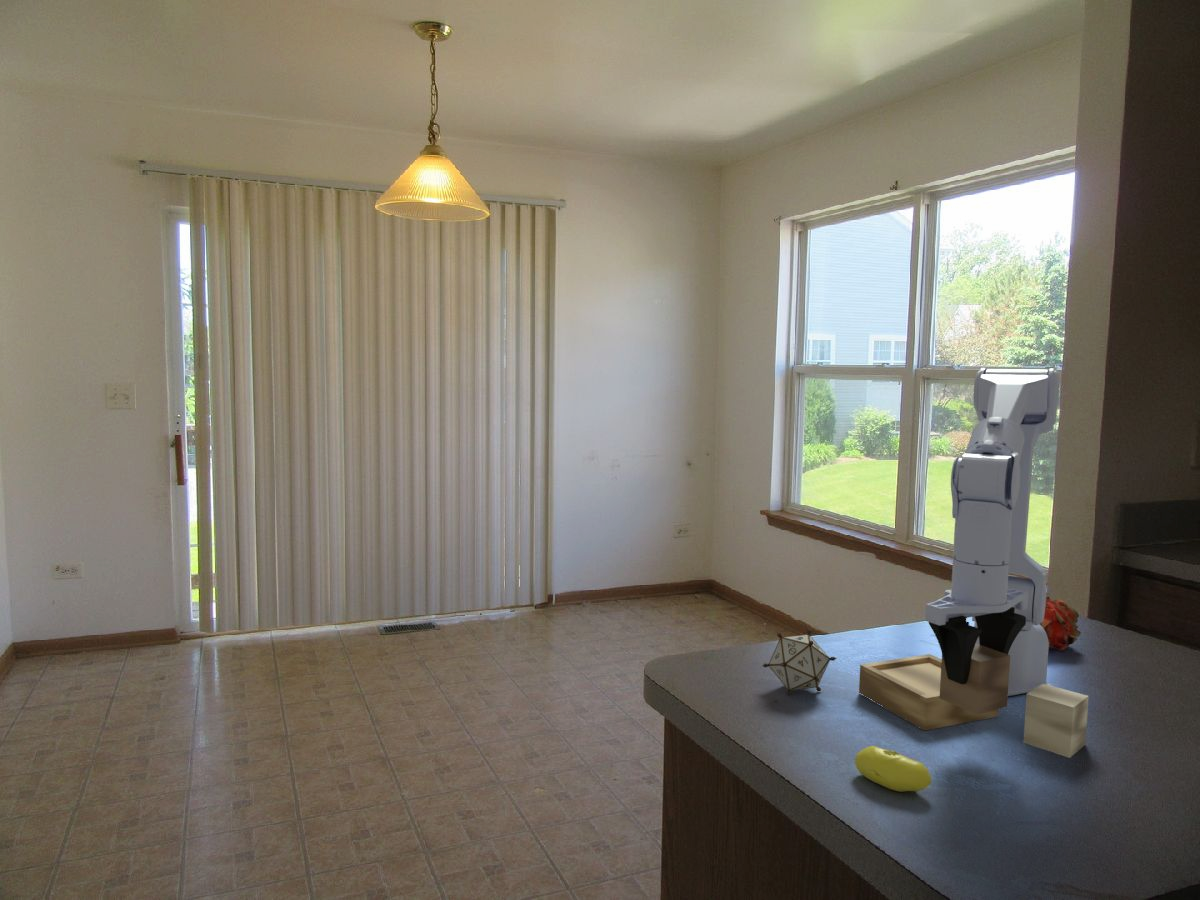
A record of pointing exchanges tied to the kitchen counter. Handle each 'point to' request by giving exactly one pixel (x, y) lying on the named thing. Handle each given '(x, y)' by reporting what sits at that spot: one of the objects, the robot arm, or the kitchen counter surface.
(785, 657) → the game die
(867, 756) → the yellow oval lump
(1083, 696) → the maple cube
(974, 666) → the walnut cube
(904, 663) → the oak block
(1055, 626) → the dragon fruit
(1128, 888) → the kitchen counter surface
